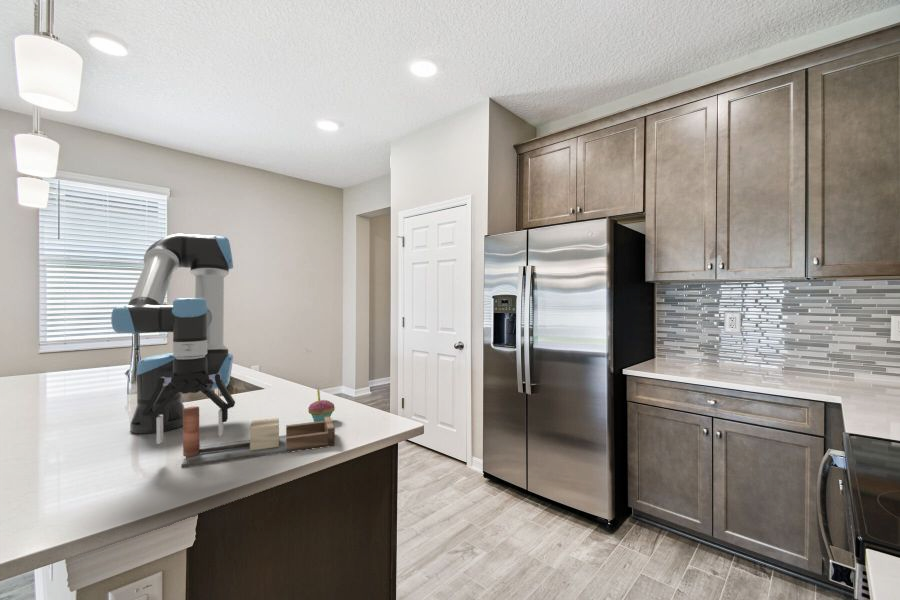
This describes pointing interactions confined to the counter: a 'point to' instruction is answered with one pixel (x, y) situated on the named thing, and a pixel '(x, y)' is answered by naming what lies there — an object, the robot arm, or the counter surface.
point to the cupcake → (321, 409)
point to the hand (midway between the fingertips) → (191, 438)
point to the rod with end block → (260, 438)
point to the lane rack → (294, 440)
